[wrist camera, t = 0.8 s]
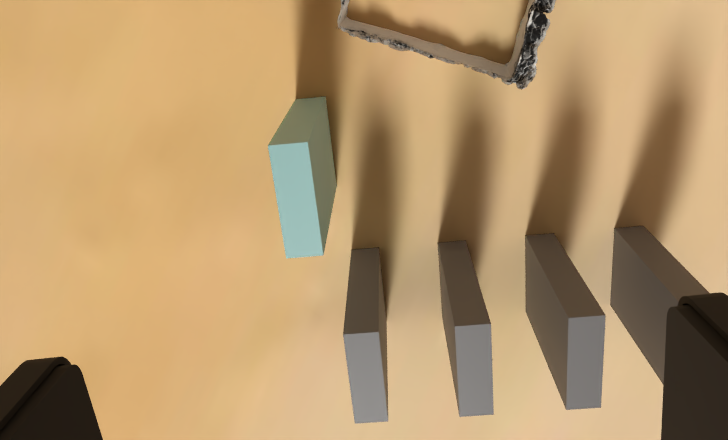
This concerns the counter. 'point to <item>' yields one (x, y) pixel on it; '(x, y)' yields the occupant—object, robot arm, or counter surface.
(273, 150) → the teal domino
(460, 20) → the counter surface
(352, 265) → the domino
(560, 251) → the domino
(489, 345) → the domino
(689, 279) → the domino
